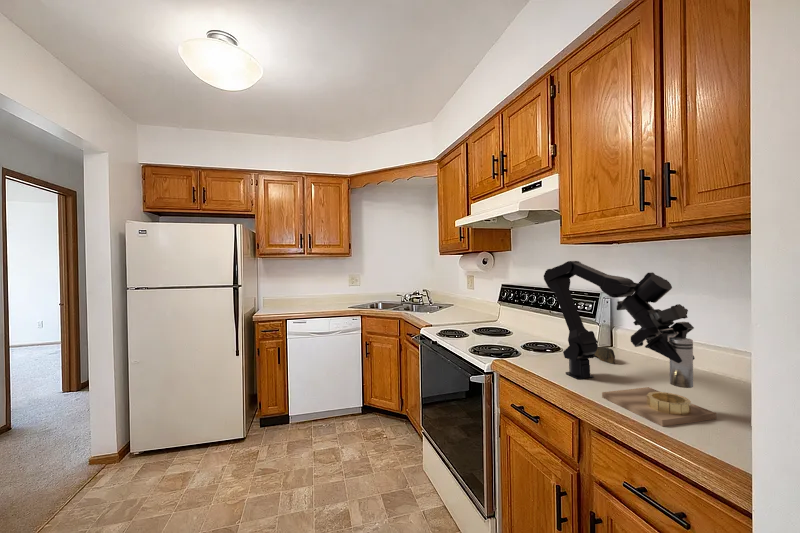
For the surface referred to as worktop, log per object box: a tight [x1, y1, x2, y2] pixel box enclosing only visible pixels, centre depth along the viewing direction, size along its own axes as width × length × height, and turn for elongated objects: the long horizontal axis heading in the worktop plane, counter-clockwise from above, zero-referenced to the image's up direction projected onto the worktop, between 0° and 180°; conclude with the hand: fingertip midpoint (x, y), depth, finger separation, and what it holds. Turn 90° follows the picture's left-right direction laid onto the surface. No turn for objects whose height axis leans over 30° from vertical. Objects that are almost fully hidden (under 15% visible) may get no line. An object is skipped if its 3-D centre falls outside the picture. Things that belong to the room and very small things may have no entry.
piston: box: [669, 337, 694, 389], centre depth 93 cm, size 5×5×12 cm
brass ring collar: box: [647, 391, 692, 415], centre depth 92 cm, size 9×9×2 cm
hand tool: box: [594, 346, 616, 365], centre depth 146 cm, size 23×5×6 cm, turn 1°
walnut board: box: [601, 386, 717, 427], centre depth 95 cm, size 19×16×2 cm
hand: (686, 361), depth 92 cm, fingers closed on piston, 5 cm apart
